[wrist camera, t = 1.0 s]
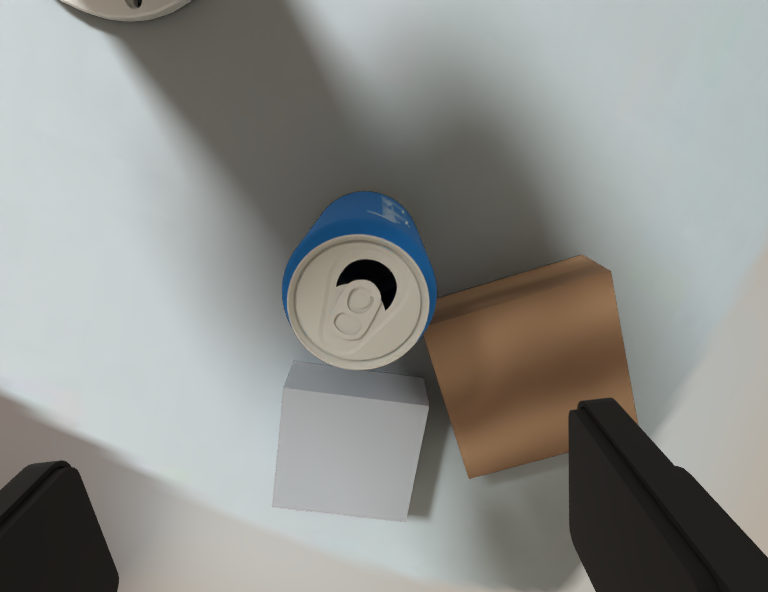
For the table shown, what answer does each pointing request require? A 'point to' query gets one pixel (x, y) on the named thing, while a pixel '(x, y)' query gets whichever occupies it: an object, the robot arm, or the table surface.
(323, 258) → the beverage can
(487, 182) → the table surface
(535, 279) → the walnut block
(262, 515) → the table surface
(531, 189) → the table surface
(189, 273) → the table surface
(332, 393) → the grey square block
